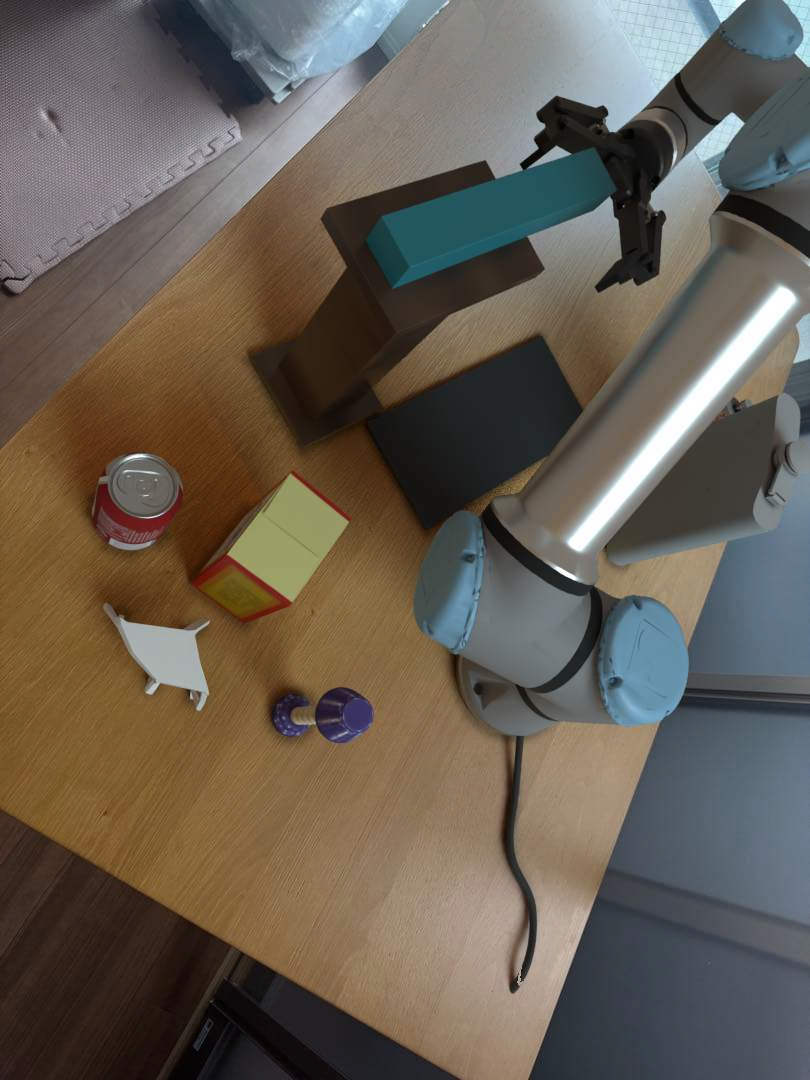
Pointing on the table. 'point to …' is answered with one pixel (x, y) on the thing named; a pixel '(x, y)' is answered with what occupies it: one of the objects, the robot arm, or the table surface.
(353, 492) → the table surface
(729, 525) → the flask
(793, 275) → the robot arm
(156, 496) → the soda can
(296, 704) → the toy lamp
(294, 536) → the baking soda box
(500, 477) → the mat
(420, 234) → the block
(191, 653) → the white flat legged piece
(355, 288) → the stand
